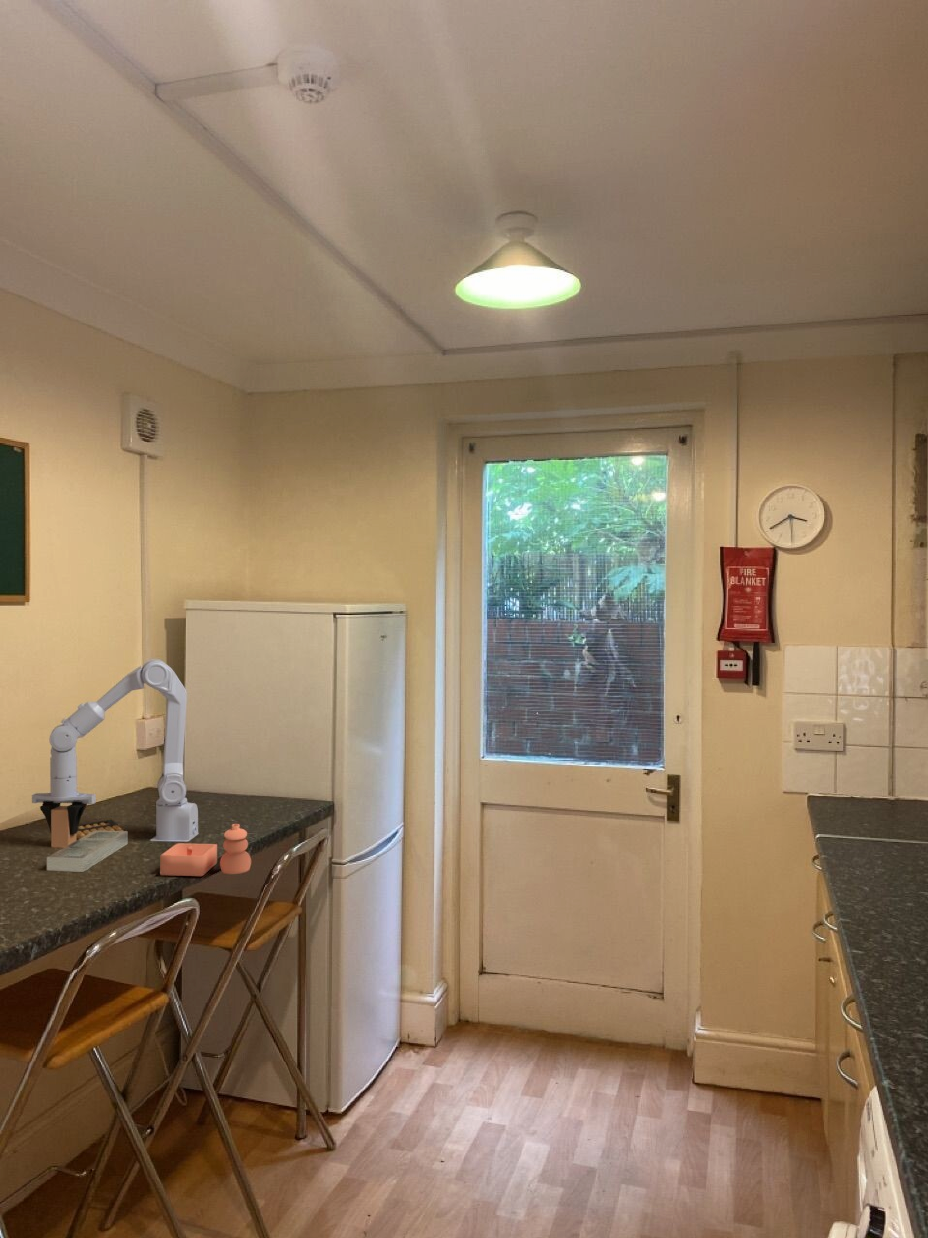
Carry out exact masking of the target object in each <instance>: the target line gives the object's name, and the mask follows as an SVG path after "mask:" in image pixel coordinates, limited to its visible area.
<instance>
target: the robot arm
mask: <svg viewBox="0 0 928 1238" xmlns="http://www.w3.org/2000/svg"><path fill="white" fill-rule="evenodd" d="M145 685H146V686H147V687H150V688H152V689H155V690H157V691H158V692H159V693H160V694H161V695H162V696H163V697H165V699H166V714H165V731H164V732H165V733H164V748H163V764H162V772H161V774H160V777H159V779H158V781H157V784H156V786H157V790H158V796H159V798H158V799H157V800H156V802H155V803H156V805H155V807H156V808H155V809H156V810H155V811H156V812H155V815H156V817H155V819H156V821H155V823H156V824H155V826H156V827H155V828H156V829H155V830H156V831H155V833H156V835H155V836H154V837H152V838H151V839H149V841H150V842H178V843H183V842H185V843H186V842H190V841H191V840H192V839H194V838H195V837H196V836H198V835H199V834H200V832H199V809H198V804H196V803H195V802H194V803H193V802H188V798H187V797H186V795H187V786H186V784H185V781H184V752H185V751H184V750H185V733H186V720H187V719H186V718H187V717H186V715H187V704H188V703H187V701H188V700H187V699H188V693H187V690H186V688H185V686H184V685H183V683H182V682H181V680H180V679H179V677H178V676H177V674H176V672H175V671H174V670H173V668H172V667H171V666H169V665H168V664H167V663H166V662H164V661H163V660H161V659H159V658H152V659H149V660H147V661H146V662H144V663H143V665H139V666H138V667H137V668H135V669H134V670H132V671H130V672H129V673H128V674H127V675H125V676H124V677H123V678H121V680H119V681H118V682H117V683H116V684H115V685H114V686H112V687H111V688H110V689H109V690H108V691H107V692H106V693H105V694H103V695H102V696H101V697H100V698H99V699H97V701H86V702H85V703H82V702H81V703H80V704H79V705H78V706H77V708H78V709H77V710H76V711H74V712H73V713H72V714H71V715H70V716H68V717H67V718H65V717H64V718H62V720H61V721H60V722H61V723H62V724H59V725H57V726H55V727H53V729H52V731H51V733H50V735H49V744H50V746H51V748H50V755H51V756H50V760H49V761H50V762H49V763H50V764H49V765H50V766H49V767H50V769H49V771H50V773H49V774H50V775H49V776H50V777H49V778H50V784H49V785H50V786H49V787H50V789H49V790H50V792H44V793H43V792H39V793H37V792H36V793H33V794H32V795H31V804H37V803H38V804H39V803H40V804H41V803H42V805H40V806H39V809H40V810H39V811H41V813H42V814H43V816H44V818H45V820H46V822H47V824H48V825H47V826H48V827H49V832H50V833H51V810H52V809H54V808H56V807H59V806H61V804H69V805H66V806H67V810H68V814H69V822H70V824H69V830H70V835H74V834H76V833H77V830H78V825H80V821H81V818H82V815H83V814H84V811H85V809H86V808H87V806H88V805H93V804H95V803H96V802H97V800H96V799H97V795H96V794H95V793H94V794H93V793H92V794H91V793H83V792H78V758H77V757H78V756H77V753H76V752H77V751H76V749H77V748H76V746H77V742H78V739H79V738H84V737H85V736H86V735H88V734H89V733H90V732H92V731H93V729H95V728H97V726H99V724H100V723H102V722H103V721H104V720H105V718H106V716H105V715H106V711H107V710H108V709H110V708H112V707H113V706H114V705H116V704H117V703H119V701H121V700H122V699H123V698H124V697H126V696H127V695H129V694H130V692H133V691H136V690H143V689H145V687H146V686H145Z"/></svg>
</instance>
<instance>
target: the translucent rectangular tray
mask: <svg viewBox="0 0 928 1238" xmlns="http://www.w3.org/2000/svg"><path fill="white" fill-rule="evenodd" d="M128 833H129V832H128V831H127V830H123V831H93V832H91V833H89V834H88V835H86V836H84V837H82V838H80V839H76V840H77V841H75V842H73V843H71V844H70V845H68V846H66V847H64V848H60V849H59V850H57V851H56V852H53V853H52V854H50V855H48V856H46V871H47V872H49V871H51V872H68V873H69V872H72V873H73V872H74V873H75V872H76V873H83V872H86V871H87V870H89V869H90V868H92V867H93V866H95V865H96V864H98V863H100V862H101V861H103V860H105V859H106V858H107V857H109V856H110V855H113V854H114V853H116V852H117V851H119V850H120V849H122V848H123V847H125V846H126V845H128V843H129V842H128V841H129V839H128Z"/></svg>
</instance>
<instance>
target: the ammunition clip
mask: <svg viewBox="0 0 928 1238" xmlns="http://www.w3.org/2000/svg"><path fill="white" fill-rule="evenodd" d="M93 831H124V830H123V828H121V827H120V826H119V824H118V823H117V822H115V821H114V820H113V819H105V820H99V821H93V822H87V823H79V825H78V830H77V833H76V839H77V840H79V839H80V838H82V837H84V836H86V835H88V834H89V833H91V832H93Z"/></svg>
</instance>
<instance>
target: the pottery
mask: <svg viewBox="0 0 928 1238" xmlns="http://www.w3.org/2000/svg"><path fill="white" fill-rule="evenodd" d="M240 827H241V826H240V824H239V823H232V824H231V828H229V829H227V830H226V831H225V832H224V834H223V837H224V838H225V840H224V841H223V847H222V848H223V850H224V851H225V852H223V854H222V856H221V858H220V860H219V865H220V869H221V872H222V873H223V874H228V875H237V874H243V873H247V872H249V871H250V869H251V866H252V858H251V855H250V853H248V852H247V851H246V850H247V848H248V847H249V842H248V840H247V836H248V831H247V830H245V829H244V828H240ZM159 860H160V861H159V864H160V865H159V866H160V867H159V874H160V876H177V877H178V876H179V877H180V876H184V877H186V876H187V877H189V876H190V877H203V876H204V875H206V874H207V872H208V871H210V870H211V869H212V868H213V867H214V866H216V865H217V863H218V844H217V843H216V844H215V843H186V842H185V843H183V842H178V843H175V844H174V845H172V846H171V847H170V848H169V849H167V850H166V851H165V852H163V853H161V854H160V857H159Z"/></svg>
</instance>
